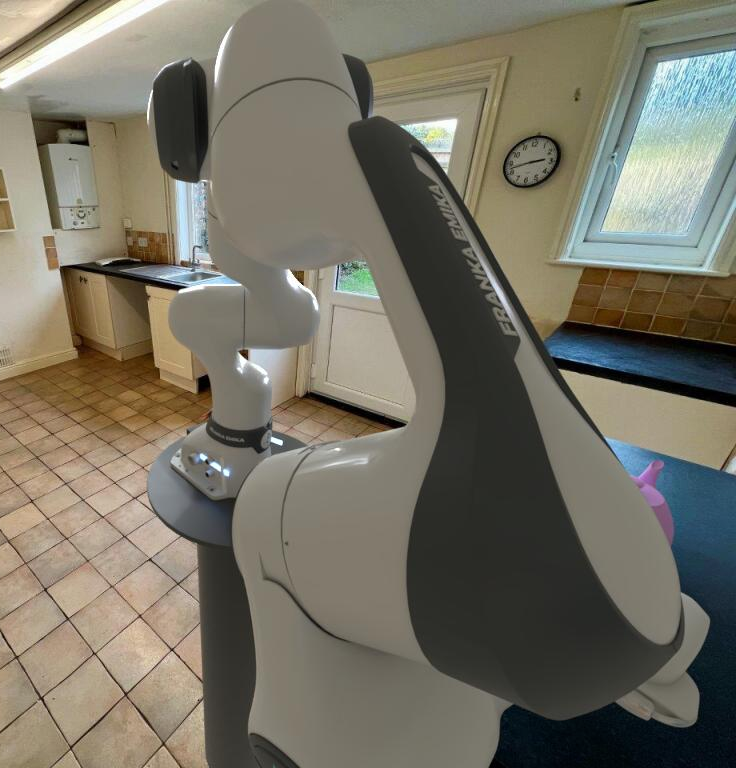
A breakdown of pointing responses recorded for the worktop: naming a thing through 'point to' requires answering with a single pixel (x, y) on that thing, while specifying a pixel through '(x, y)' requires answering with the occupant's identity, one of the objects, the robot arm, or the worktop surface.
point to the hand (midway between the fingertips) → (533, 503)
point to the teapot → (656, 497)
